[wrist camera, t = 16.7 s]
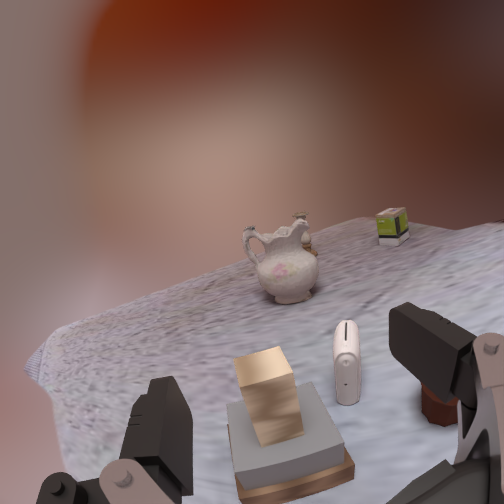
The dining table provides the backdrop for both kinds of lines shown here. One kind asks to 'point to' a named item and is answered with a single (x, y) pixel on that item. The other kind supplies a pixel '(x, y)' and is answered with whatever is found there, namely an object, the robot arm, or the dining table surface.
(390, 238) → the tea box
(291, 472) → the slate top block
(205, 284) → the dining table surface
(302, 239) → the candle holder
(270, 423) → the birch pillar block
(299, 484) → the walnut base block
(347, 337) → the photo printer
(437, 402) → the muffin
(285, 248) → the ceramic pitcher
